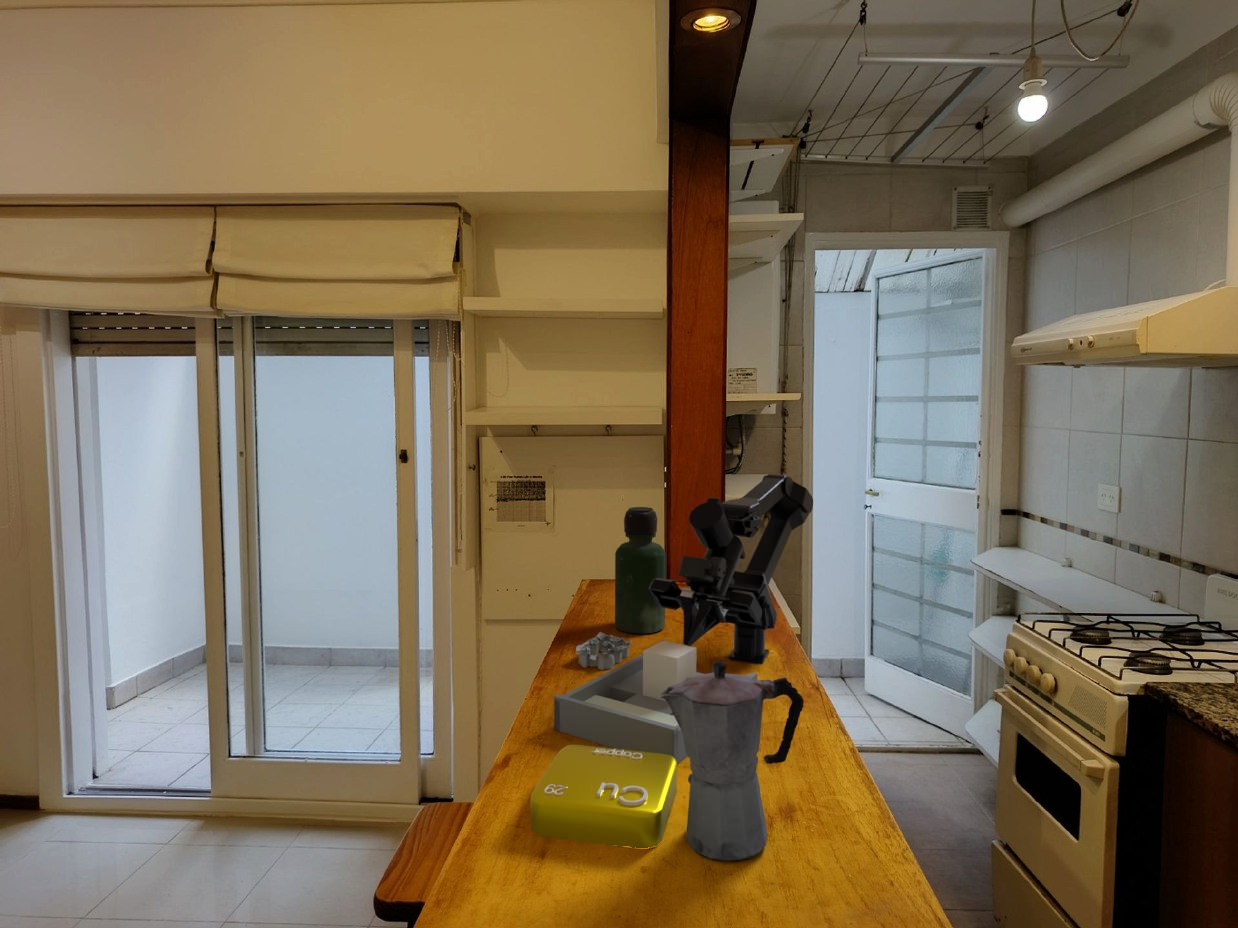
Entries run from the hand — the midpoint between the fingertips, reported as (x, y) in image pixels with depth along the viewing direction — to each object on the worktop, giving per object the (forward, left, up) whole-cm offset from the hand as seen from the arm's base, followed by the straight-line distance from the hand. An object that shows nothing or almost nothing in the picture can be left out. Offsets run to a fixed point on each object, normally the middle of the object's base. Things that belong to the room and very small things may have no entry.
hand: (686, 645), depth 124 cm
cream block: (+5, -1, -6) cm, 8 cm away
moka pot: (+36, +16, -9) cm, 41 cm away
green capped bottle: (-33, -20, -9) cm, 39 cm away
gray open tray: (+8, -2, -9) cm, 12 cm away
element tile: (+35, +1, -9) cm, 37 cm away
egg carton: (-12, -19, -9) cm, 24 cm away
